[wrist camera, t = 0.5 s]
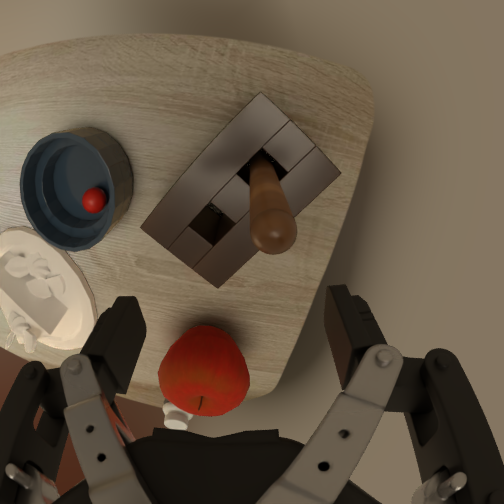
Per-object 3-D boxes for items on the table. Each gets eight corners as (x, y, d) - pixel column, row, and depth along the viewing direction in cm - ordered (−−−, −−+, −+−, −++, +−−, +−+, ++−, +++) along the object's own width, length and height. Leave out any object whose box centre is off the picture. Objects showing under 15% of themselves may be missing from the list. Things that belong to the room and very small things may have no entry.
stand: (161, 202, 35) (139, 227, 27) (257, 96, 29) (260, 91, 22) (223, 253, 38) (217, 289, 31) (321, 158, 32) (342, 173, 25)
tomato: (85, 198, 33) (73, 206, 30) (97, 179, 32) (84, 186, 29) (103, 213, 34) (92, 222, 31) (115, 194, 33) (104, 202, 30)
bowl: (33, 190, 33) (8, 204, 28) (77, 105, 28) (50, 108, 23) (100, 250, 37) (81, 272, 32) (156, 172, 33) (139, 185, 27)
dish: (124, 332, 44) (101, 383, 34) (43, 352, 48) (21, 389, 38) (42, 201, 34) (-8, 234, 24) (-23, 256, 38) (-57, 287, 28)
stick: (245, 158, 32) (239, 241, 13) (259, 145, 32) (275, 206, 12) (259, 171, 33) (274, 272, 14) (273, 158, 32) (310, 240, 13)
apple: (164, 349, 46) (145, 419, 33) (180, 296, 41) (156, 371, 28) (234, 369, 48) (232, 439, 36) (261, 320, 43) (265, 398, 30)
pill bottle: (166, 384, 50) (156, 426, 42) (173, 369, 48) (163, 414, 40) (193, 393, 52) (186, 435, 43) (201, 379, 49) (195, 423, 41)
